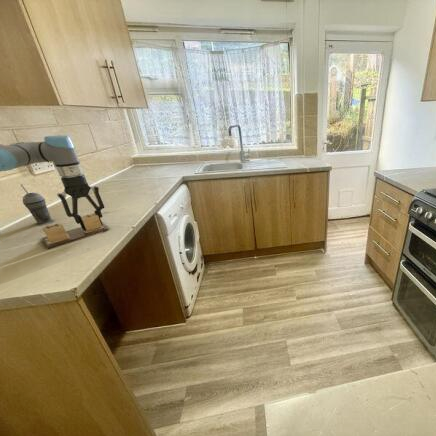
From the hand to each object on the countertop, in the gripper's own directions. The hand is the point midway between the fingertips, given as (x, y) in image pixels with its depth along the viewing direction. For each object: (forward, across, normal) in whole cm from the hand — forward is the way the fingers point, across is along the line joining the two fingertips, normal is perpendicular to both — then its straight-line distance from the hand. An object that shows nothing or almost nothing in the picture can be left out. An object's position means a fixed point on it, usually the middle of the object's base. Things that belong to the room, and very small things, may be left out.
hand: (92, 226), depth 108 cm
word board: (+2, -6, 0) cm, 6 cm away
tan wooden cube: (0, 0, 0) cm, 0 cm away
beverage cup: (+2, -12, +28) cm, 31 cm away
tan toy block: (+1, -12, 0) cm, 12 cm away
